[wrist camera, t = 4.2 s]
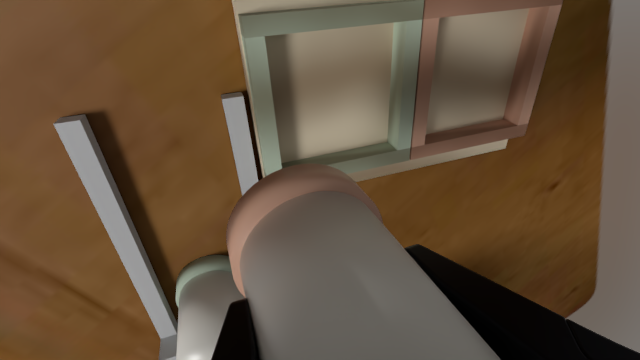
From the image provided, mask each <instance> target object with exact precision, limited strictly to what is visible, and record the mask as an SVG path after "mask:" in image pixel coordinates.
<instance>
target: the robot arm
mask: <svg viewBox="0 0 640 360" xmlns="http://www.w3.org/2000/svg"><path fill="white" fill-rule="evenodd" d="M404 249H405V250H406V251H407V252H408V254H409V255H410V256H411V257H412V258H413V259H414V260H415V262H416V263H417V264H418V265H419V266H420V267H421V269H422V270H423V271H424V272H425V273H426V274H427V275H428V277H429V278H430V279H431V280H432V281H433V282H434V283H435V285H436V286H437V287H438V288H439V289H440V290H441V291H442V293H443V294H444V295H445V296H446V297H447V298H448V299H449V301H450V302H451V303H452V304H453V305H454V306H455V308H456V309H457V310H458V311H459V312H460V313H461V314H462V316H463V317H464V318H465V319H466V320H467V321H468V322H469V324H470V325H471V326H472V327H473V328H474V329H475V330H476V332H477V333H478V334H479V335H480V336H481V337H482V339H483V340H484V341H485V342H486V343H487V344H488V345H489V347H490V348H491V349H492V350H493V351H494V352H495V353H496V355H497V356H498V357H499V358H500V359H501V360H640V353H638V352H636V351H634V350H631V349H629V348H627V347H625V346H622V345H620V344H618V343H615V342H613V341H612V340H610V339H607V338H605V337H603V336H601V335H599V334H597V333H595V332H593V331H591V330H589V329H587V328H585V327H583V326H581V325H579V324H577V323H575V322H573V321H571V320H569V319H566V320H565V318H564V317H563V316H561V315H559V314H557V313H555V312H553V311H551V310H549V309H547V308H545V307H543V306H541V305H539V304H537V303H535V302H533V301H531V300H529V299H527V298H525V297H523V296H521V295H519V294H517V293H515V292H513V291H511V290H509V289H507V288H505V287H503V286H501V285H499V284H497V283H495V282H493V281H491V280H489V279H487V278H485V277H483V276H481V275H479V274H477V273H475V272H473V271H471V270H469V269H467V268H465V267H463V266H461V265H459V264H457V263H455V262H453V261H451V260H449V259H447V258H445V257H444V256H442V255H440V254H438V253H436V252H434V251H432V250H430V249H428V248H426V247H424V246H422V245H419V244H416V245H412V246H409V247H406V248H404ZM211 360H259V356H258V351H257V345H256V340H255V335H254V329H253V324H252V319H251V313H250V308H249V303H248V300H247V298H243V299H240V300H237V301H234V302H232V303H231V304H230V305H229V307H228V310H227V313H226V316H225V319H224V322H223V325H222V328H221V331H220V334H219V337H218V340H217V343H216V346H215V349H214V352H213V355H212V358H211Z"/></svg>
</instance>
